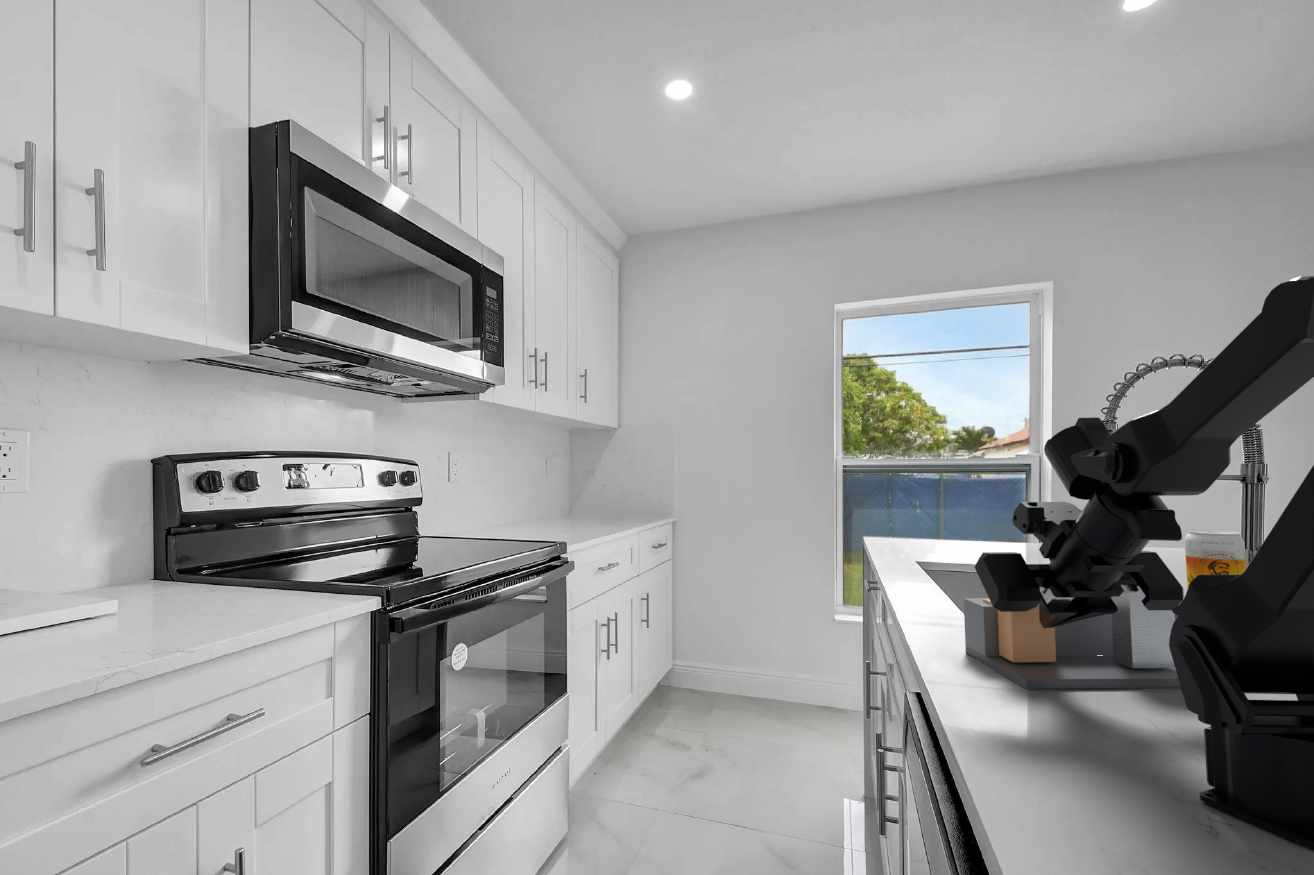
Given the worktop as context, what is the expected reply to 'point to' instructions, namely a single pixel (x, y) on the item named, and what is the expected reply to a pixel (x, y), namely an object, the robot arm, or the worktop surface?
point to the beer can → (1214, 553)
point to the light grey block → (1141, 633)
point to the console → (1061, 655)
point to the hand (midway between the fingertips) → (1044, 624)
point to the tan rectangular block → (1025, 637)
